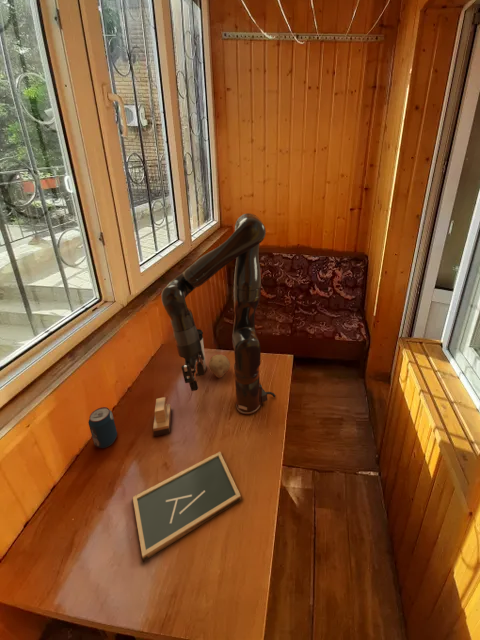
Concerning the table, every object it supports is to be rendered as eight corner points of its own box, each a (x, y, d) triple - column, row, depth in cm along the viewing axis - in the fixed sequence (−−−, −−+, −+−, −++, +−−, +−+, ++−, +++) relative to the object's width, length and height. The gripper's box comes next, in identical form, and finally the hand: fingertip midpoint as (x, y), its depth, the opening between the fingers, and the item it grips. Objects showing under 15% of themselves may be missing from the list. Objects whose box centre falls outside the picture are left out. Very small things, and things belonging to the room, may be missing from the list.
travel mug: (202, 375, 136) (198, 337, 130) (189, 373, 138) (184, 335, 131) (209, 366, 142) (205, 328, 135) (195, 364, 143) (191, 327, 137)
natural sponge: (224, 365, 143) (222, 346, 140) (234, 375, 137) (233, 356, 134) (206, 374, 137) (204, 355, 134) (216, 385, 131) (215, 365, 128)
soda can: (120, 430, 110) (114, 404, 106) (113, 448, 104) (107, 421, 100) (99, 433, 109) (92, 407, 105) (91, 451, 102) (83, 424, 98)
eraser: (157, 413, 117) (154, 395, 114) (171, 411, 118) (168, 392, 115) (154, 436, 108) (150, 416, 105) (169, 433, 109) (166, 413, 106)
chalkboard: (220, 455, 102) (220, 451, 101) (240, 500, 89) (240, 495, 88) (133, 501, 88) (132, 497, 88) (143, 561, 76) (142, 556, 75)
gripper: (192, 348, 96) (203, 393, 99) (203, 328, 110) (213, 368, 113) (168, 352, 96) (181, 397, 99) (183, 331, 110) (193, 371, 113)
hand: (198, 382), depth 106 cm, fingers open, 8 cm apart
